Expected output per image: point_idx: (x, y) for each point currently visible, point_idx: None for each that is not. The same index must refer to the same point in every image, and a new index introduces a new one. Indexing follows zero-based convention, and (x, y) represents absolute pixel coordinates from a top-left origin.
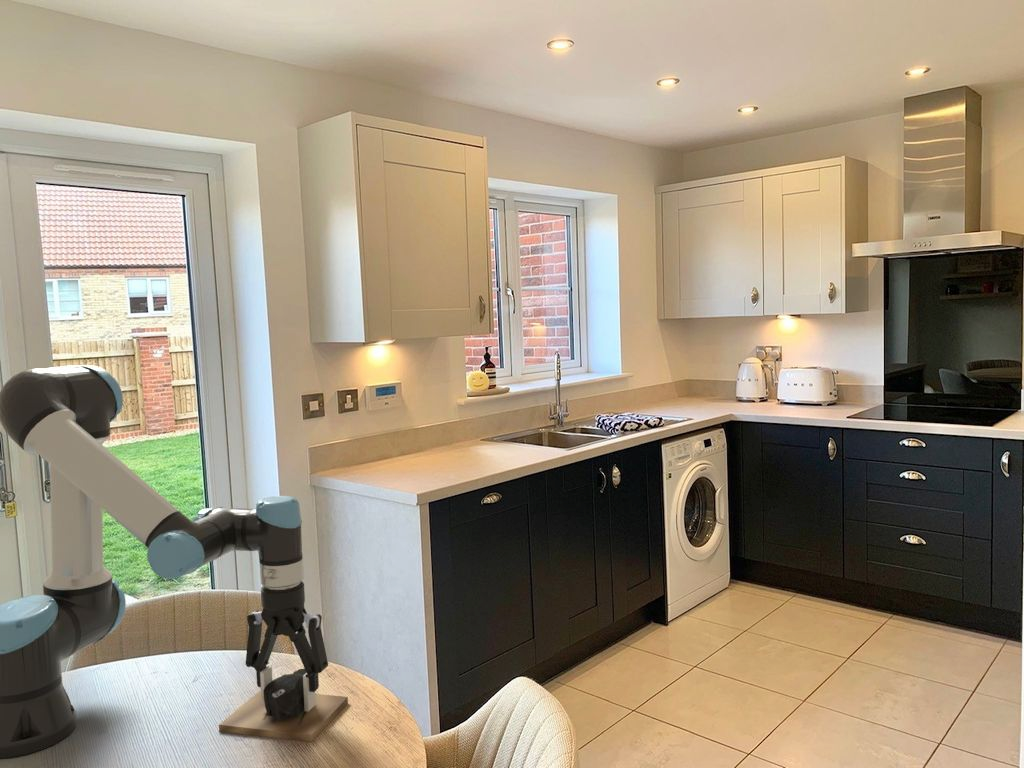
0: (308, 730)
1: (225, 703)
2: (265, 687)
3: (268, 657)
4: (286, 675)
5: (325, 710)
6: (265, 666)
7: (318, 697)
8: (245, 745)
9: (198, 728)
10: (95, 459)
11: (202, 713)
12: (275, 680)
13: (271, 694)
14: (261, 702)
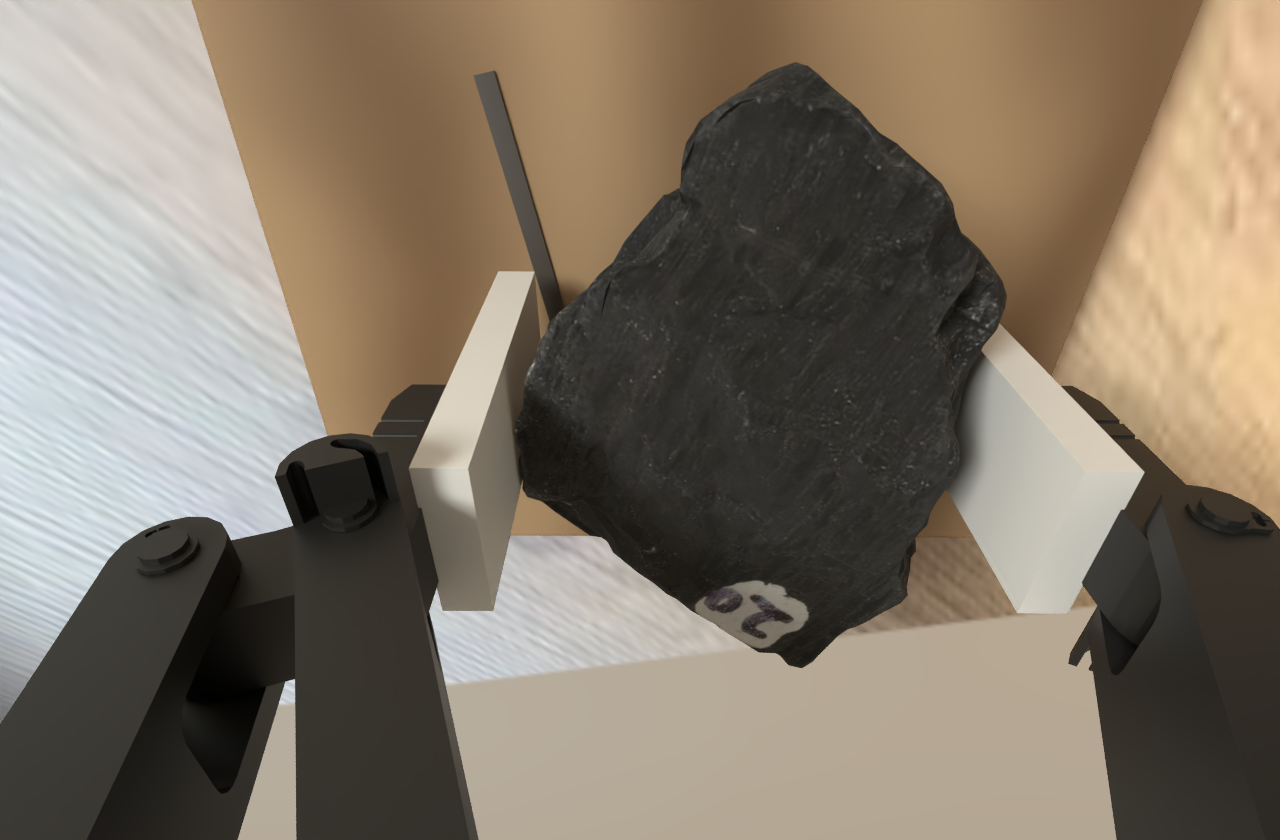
0: (953, 502)
1: (51, 183)
2: (533, 493)
3: (428, 631)
4: (657, 337)
5: (1022, 259)
6: (417, 535)
7: (895, 22)
8: (616, 580)
9: (226, 499)
10: None
11: (55, 353)
12: (565, 404)
13: (682, 602)
14: (403, 229)
